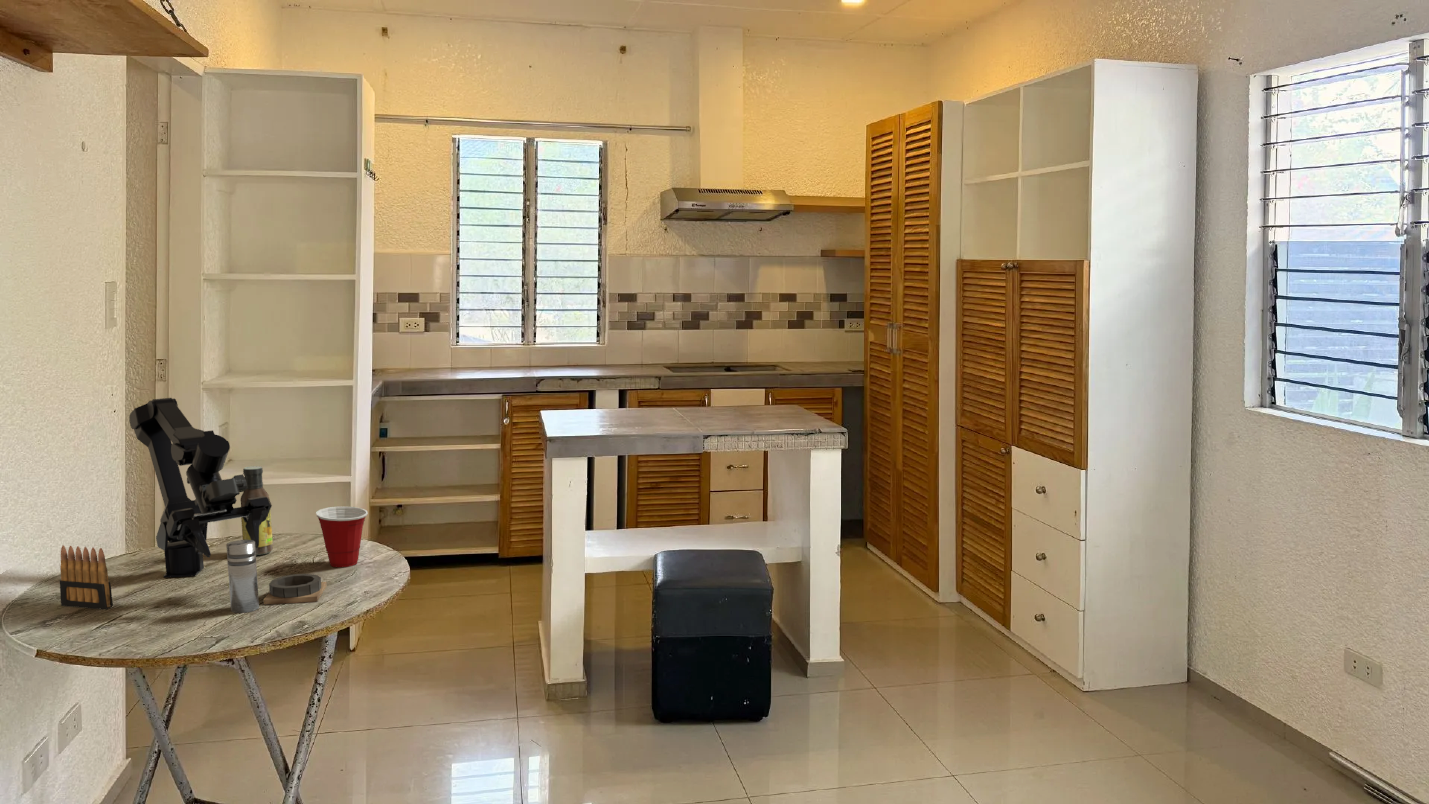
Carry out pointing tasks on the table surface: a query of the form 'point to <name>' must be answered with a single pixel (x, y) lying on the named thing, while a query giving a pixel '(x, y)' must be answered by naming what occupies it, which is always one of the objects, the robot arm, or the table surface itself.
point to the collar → (295, 589)
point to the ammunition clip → (84, 579)
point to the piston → (242, 576)
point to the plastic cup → (342, 533)
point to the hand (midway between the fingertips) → (233, 551)
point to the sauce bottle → (253, 491)
